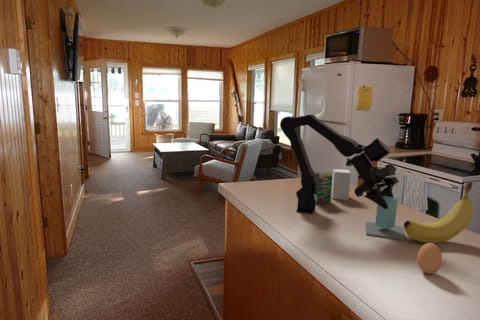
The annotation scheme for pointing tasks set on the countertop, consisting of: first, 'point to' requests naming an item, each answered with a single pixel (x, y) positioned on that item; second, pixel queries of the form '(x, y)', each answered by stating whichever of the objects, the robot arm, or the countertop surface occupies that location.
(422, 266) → the egg
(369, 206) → the countertop surface
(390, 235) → the slate mat
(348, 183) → the supplement box
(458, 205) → the banana
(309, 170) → the robot arm
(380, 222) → the teal block
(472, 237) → the countertop surface
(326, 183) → the coffee box
